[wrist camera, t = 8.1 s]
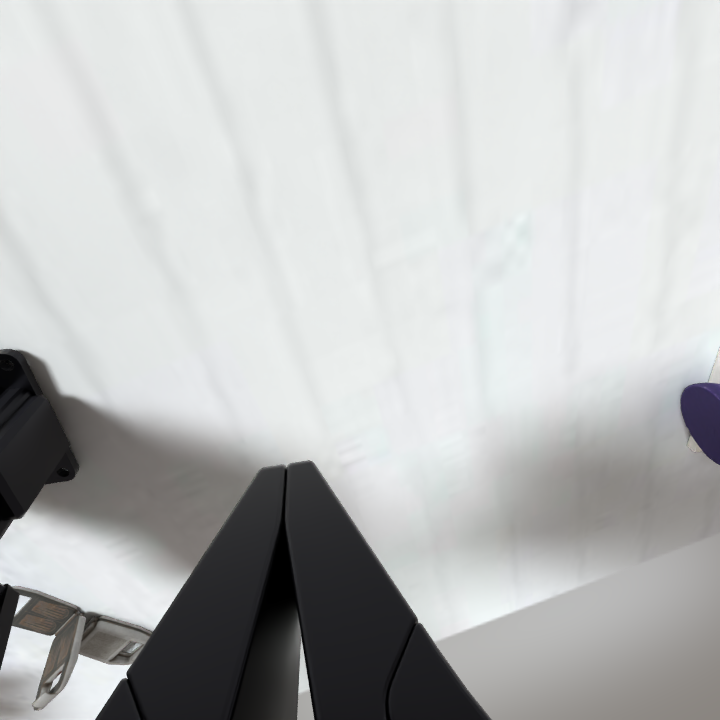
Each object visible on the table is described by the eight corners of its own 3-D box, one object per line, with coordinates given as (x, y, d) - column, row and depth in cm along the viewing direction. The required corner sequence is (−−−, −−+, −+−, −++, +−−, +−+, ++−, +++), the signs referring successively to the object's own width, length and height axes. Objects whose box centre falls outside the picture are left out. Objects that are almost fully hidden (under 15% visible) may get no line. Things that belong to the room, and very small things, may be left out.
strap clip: (161, 628, 28) (142, 707, 24) (133, 654, 28) (110, 735, 25) (16, 577, 24) (-33, 661, 20) (-12, 608, 25) (-63, 695, 21)
